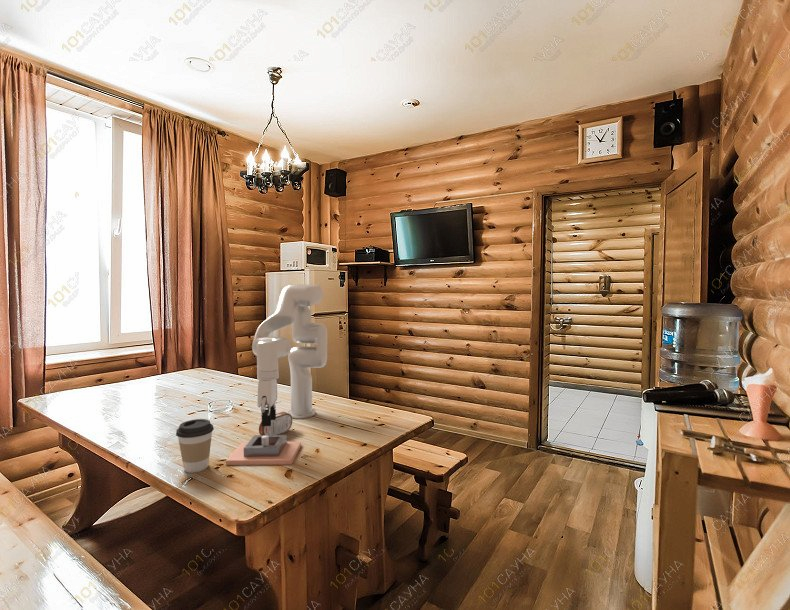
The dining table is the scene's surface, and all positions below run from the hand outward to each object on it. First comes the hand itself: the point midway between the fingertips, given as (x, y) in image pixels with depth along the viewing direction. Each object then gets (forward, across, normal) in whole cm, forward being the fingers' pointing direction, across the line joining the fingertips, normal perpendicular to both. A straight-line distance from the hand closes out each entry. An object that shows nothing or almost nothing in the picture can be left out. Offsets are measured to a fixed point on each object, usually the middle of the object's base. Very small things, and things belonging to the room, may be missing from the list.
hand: (268, 422), depth 154 cm
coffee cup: (+10, +15, -20) cm, 27 cm away
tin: (+10, -14, -1) cm, 17 cm away
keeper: (+10, +5, 0) cm, 11 cm away
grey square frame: (+9, +4, 0) cm, 9 cm away
